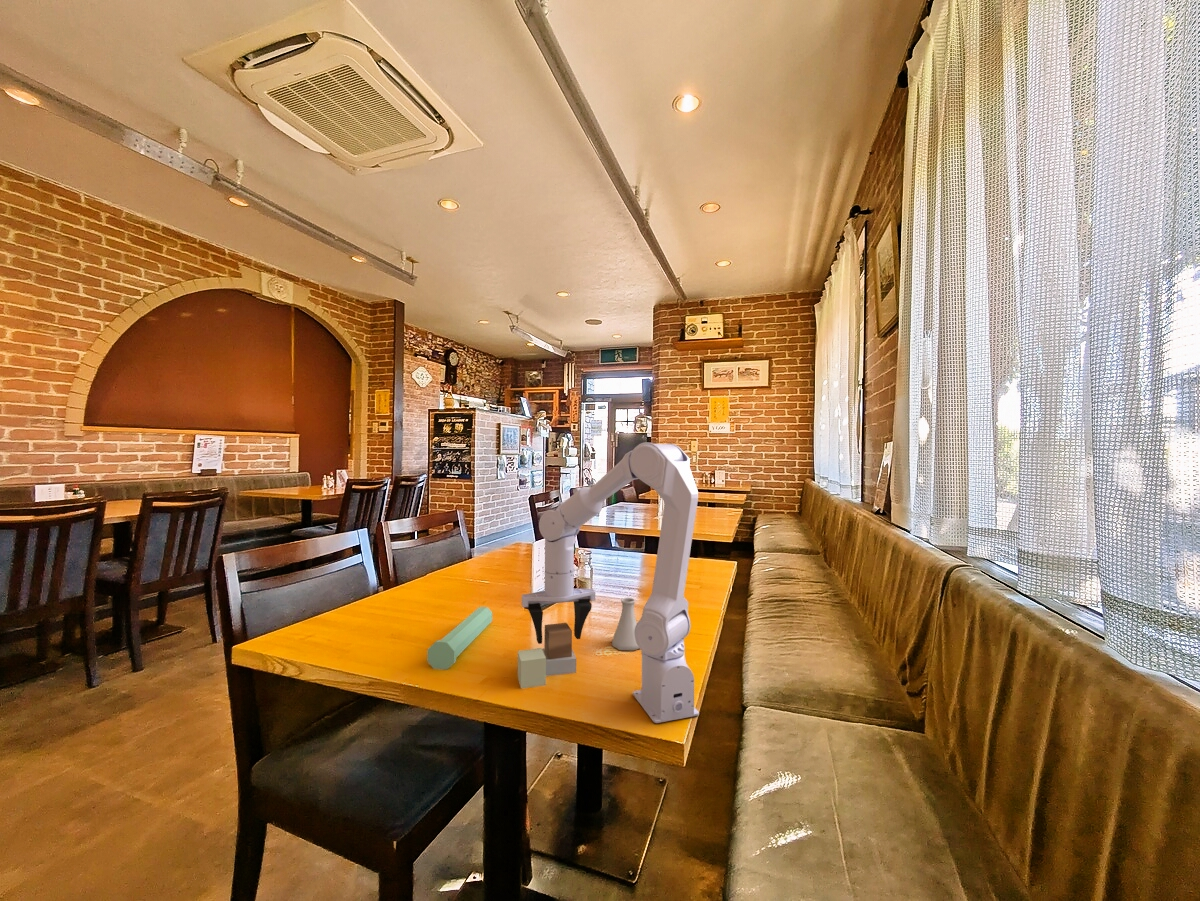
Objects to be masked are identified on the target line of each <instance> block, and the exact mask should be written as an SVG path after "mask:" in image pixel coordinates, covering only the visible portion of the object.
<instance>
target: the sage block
mask: <svg viewBox="0 0 1200 901" xmlns="http://www.w3.org/2000/svg"><path fill="white" fill-rule="evenodd" d="M542 649H543V648H542V647H539V648H531V649H522V650H517V680H518V683H519V686H520V689H528V688H529V687H530V688H535V687H541V686H542V687H543V686H546V685H547V683H546V682H547V676H546V657H545V655H544V653H543V650H542Z"/></svg>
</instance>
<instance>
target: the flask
mask: <svg viewBox="0 0 1200 901" xmlns="http://www.w3.org/2000/svg"><path fill="white" fill-rule="evenodd" d="M620 601H621V604H622V606H621V612H620V613H621V614H620V617H619V620H618V624H617V627H616V629H615V632H614V635H613V638H612V641H611V646H612V647H614V648H615V649H617V650H619V651H636V650H639V649H640V648H639V647H638V645H637V643H636V640H635V635H634V632H635V627H636V625H637V623H638V622H637V619H636V616H635V615H636V614H635V604H636V599H635V598H633V597H621V600H620ZM640 650H641V649H640Z"/></svg>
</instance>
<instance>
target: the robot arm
mask: <svg viewBox="0 0 1200 901" xmlns="http://www.w3.org/2000/svg"><path fill="white" fill-rule="evenodd" d="M690 465H691V458H690V457H689V456H688V455H687V454H686V453H685V451H684V450H683V449H682V448H681V447H680V446H679V445H676V444H675V443H652V442H642V443H639V444H638V445H636V446H635V447H634V448H633V449H632V450H630V451H628V452H626V453H625V454H624V456H623V457H622V459H621V460H620V461H618V463H617V464H615V465H614V466H613V467H612V468H611V469H609V471H607V473H606V474H604V476H602V477H601V478H600V479H599V480H598V481H597V482H596V483H594V484H593V485H592V486H591V487H588V486H583V487H575V489H573V490H572V493H573V494H572V495H571V496H570V497H568V498H567V499H566V500H565V501H562V502H561V501H560V502H559V503H558V504H557V508H556V509H555V510H553V509H549V510H545V511H544V512H543V514H542V515H541V517H540V518H539V522H538V528H539V529H538V530H539V532H540V535H541V536H542V538H543V539H544V590H541V591H536V592H532V593H524V594H521V604H520V605H521V606H522V608H527V609H528V610H527V611H528V612H529V614H530V617H531V620H532V623H533V626H534V630H535V636H536V638H535V639H536V641H537V643H538V645H541V644H543V629H542V628H543V615H544V612H543V610H542V606H541V605H549V604H550V605H553V604H561V603H564V604H565V603H572V602H573V608H574V609H573V610H574V627H573V631H574V633H573V634H574V637H575V639H576V640H581V637H582V631H583V629H584V625H585V623H586V620H587V617H588V616H589V613H590V612H591V610H592V605H593V603H591V602H594V601H596V590H595V589H594V588H574V586H575V585H574V580H575V579H574V578H575V577H574V576H575V572H574V566H575V561H574V560H575V559H574V558H575V556H574V555H575V544H576V541H577V540H576V537H577V535H578V534H579V533H580V530H581V527H582V526H583V525H585V524H586V523H587V522H588V521H590V520H591V519H593V518H594V517H595V516H597V515H598V514H599V513H600V512H601V511H602V509H603V502H604V501H606V500H607V499H608V498H610V497H612V495H614V494H615V493H617V492H618V491H620V490H621V489H623V488H624V487H626V485H627V486H628V484H630V483H632V482H633V481H634V480H639V481H641V482H643V483H644V484H645V485H647V486H649V487H651V488H652V489H653V490H654V491H655V492H656V493H657V494H658V496H659V497H660V498H661V499H662V501H663V503H664V506H663V512H662V519H661V526H660V533H659V540H658V548H657V555H656V562H655V566H654V575H653V580H652V588H651V594H650V595H649V597H648V599H647V601H646V602H645V604H644V606H643V608H642V613H641V617H640V619H639V620H638V622H637V625H636V627H635V632H634V635H635V640H636V643H637V645H638V647H639V648H640V652H641V689H638V690H633V691H632V696H634V698H635V699H636V700H637V702H638V704H640V706H641V707H642V709H643V710H644V711H645V713H646V714H647V715H648V717H649V718H650V719H651V720H652V722H653V723H654V724H659V723H664V722H671V721H676V720H681V719H686V718H693V717H697V716H699V715H700V711H698V709H697V708H696V707H695V677H694V673H693V671H692V669H691V668H690V667H689V665H688V664H687V661H686V656H685V655H686V654H685V652H686V651H685V650H686V649H685V648H686V647H685V638H686V637H687V636H688V635H689V634H690V632H691V628H692V627H691V618H690V616H689V603H690V602H689V601H688V600H687V599H686V598H685V589H686V582H687V576H688V569H689V564H690V563H689V562H690V556H691V549H692V548H691V547H692V543H693V537H694V536H693V534H694V531H695V530H694V527H695V522H696V515H697V509H698V508H697V507H698V503H699V502H698V501H699V491H698V490H699V489H698V488H697V484H696V482H695V479H694V476H693V472H692V469H691V467H690Z"/></svg>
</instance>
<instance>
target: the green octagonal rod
mask: <svg viewBox="0 0 1200 901" xmlns="http://www.w3.org/2000/svg"><path fill="white" fill-rule="evenodd" d="M492 622H493V612H492V610H491V609H490V608H489V607H488V606H479V607H478V608H477V609H475V610H474V611H473V612H472V613H471V614H469V615H468V616H467V617H466V618H465V619H464V620H463V621H461V622H460V623H459V624H458V625H457V626H455V627H454V628H453V629H452V630H451V631H449V632H448V633H447V634H446V635H445V636H444V637H442V638H441V639H438V640H436V641H434V643H432V645H431V646H429V648H427V651H426V652H427V653H426V656H427V659H426V662H427V663H428V664H429V665H430V667H432V669H433V670H448V669H449V668H451V667H452V666H453V665H454V664H455V663H456V661H457V657H458V656H460V655H461V653H462V652H464V650H465V649H466V648H467V647H469V645H471V644H472V642H473V641H474V640H475V639H476V638H477V637H478V636H479V635H480V634H481V633H482V632H483V631H484V630H485V629H486V628H487V627H488V626H489V625H490V624H492Z"/></svg>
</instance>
